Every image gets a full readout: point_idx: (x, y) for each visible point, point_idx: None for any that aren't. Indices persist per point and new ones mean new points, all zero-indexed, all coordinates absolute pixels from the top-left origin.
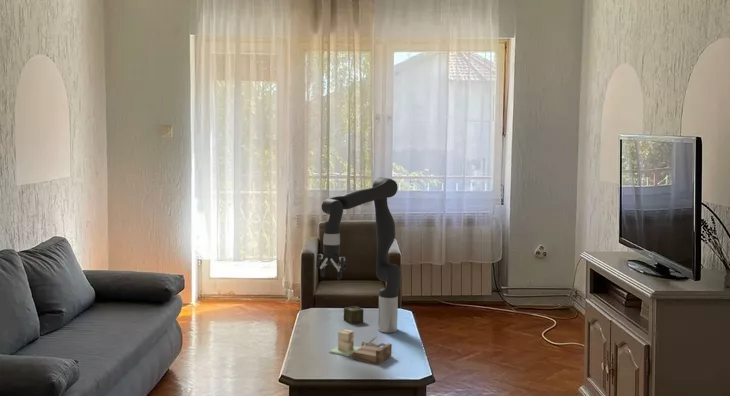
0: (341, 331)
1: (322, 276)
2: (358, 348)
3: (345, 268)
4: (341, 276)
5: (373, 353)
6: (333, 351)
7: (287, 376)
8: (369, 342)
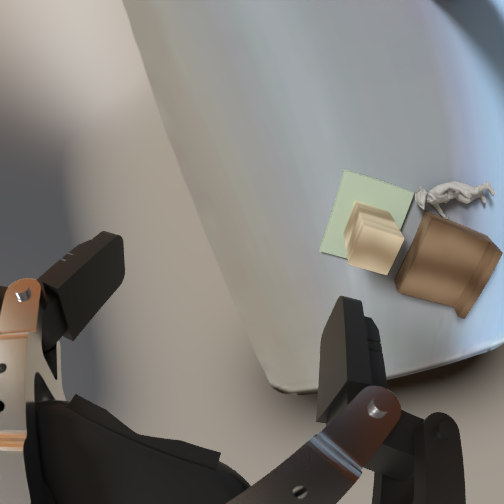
0: (359, 255)
1: (119, 284)
2: (404, 206)
3: (447, 444)
4: (374, 342)
5: (450, 287)
6: (333, 254)
7: (273, 386)
8: (442, 198)
